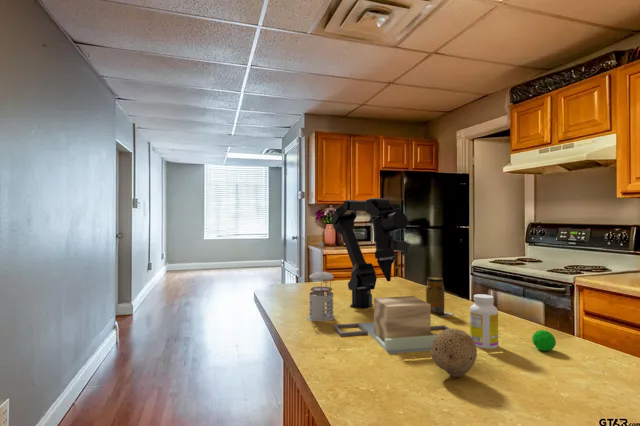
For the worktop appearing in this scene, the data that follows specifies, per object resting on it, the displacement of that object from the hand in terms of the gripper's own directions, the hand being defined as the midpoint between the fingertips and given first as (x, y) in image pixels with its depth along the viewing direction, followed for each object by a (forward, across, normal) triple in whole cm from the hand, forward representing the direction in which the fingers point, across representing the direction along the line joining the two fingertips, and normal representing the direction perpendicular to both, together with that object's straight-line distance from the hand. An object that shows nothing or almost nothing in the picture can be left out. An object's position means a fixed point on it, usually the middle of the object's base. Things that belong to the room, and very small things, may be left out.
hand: (388, 281), depth 120 cm
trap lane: (+15, -16, -1) cm, 22 cm away
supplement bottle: (+19, -18, -22) cm, 34 cm away
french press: (+10, -2, +23) cm, 25 cm away
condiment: (+13, +10, -14) cm, 22 cm away
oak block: (+15, -18, -2) cm, 24 cm away
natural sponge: (+21, -39, -11) cm, 45 cm away
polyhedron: (+21, -19, -36) cm, 46 cm away
